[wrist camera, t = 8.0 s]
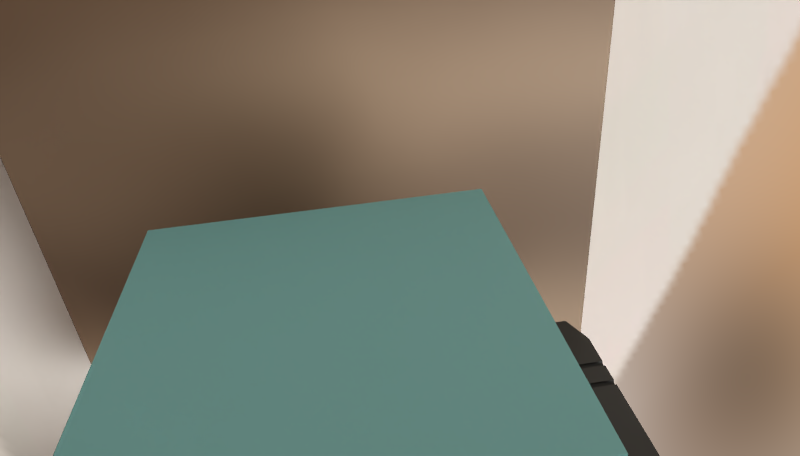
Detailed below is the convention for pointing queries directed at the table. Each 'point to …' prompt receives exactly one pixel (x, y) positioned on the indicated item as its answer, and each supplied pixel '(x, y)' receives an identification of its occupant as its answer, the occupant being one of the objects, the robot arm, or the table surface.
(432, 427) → the teal cube
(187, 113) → the walnut base
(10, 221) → the table surface
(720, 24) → the table surface
